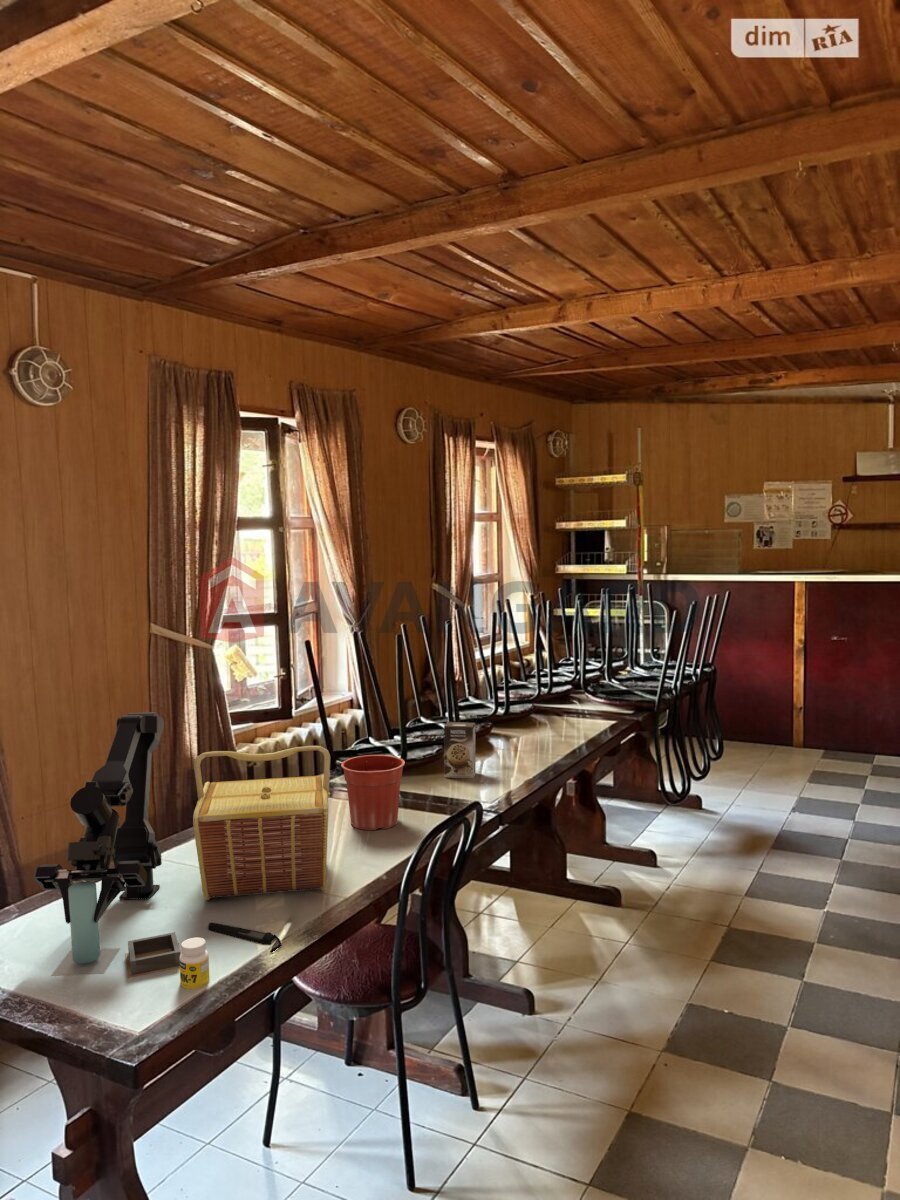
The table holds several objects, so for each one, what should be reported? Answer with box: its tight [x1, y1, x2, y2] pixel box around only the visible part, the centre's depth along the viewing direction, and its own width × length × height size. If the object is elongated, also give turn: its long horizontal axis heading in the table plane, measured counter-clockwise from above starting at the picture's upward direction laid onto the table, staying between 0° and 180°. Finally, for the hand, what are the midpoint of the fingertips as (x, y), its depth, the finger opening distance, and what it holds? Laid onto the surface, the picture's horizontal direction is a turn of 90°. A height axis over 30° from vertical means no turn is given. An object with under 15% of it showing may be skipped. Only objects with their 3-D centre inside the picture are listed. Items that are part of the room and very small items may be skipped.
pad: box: [51, 947, 121, 977], centre depth 158 cm, size 9×9×2 cm
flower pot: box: [340, 754, 406, 831], centre depth 231 cm, size 16×16×16 cm
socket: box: [124, 932, 181, 979], centre depth 158 cm, size 9×9×4 cm
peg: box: [68, 880, 101, 963], centre depth 158 cm, size 5×5×13 cm
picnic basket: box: [192, 745, 331, 901], centre depth 194 cm, size 29×26×30 cm
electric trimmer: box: [207, 922, 282, 952], centre depth 168 cm, size 4×16×3 cm, turn 65°
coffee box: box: [443, 721, 477, 779], centre depth 273 cm, size 9×6×16 cm
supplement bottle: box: [179, 936, 210, 990], centre depth 151 cm, size 5×5×8 cm
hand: (81, 922), depth 156 cm, fingers closed on peg, 4 cm apart
